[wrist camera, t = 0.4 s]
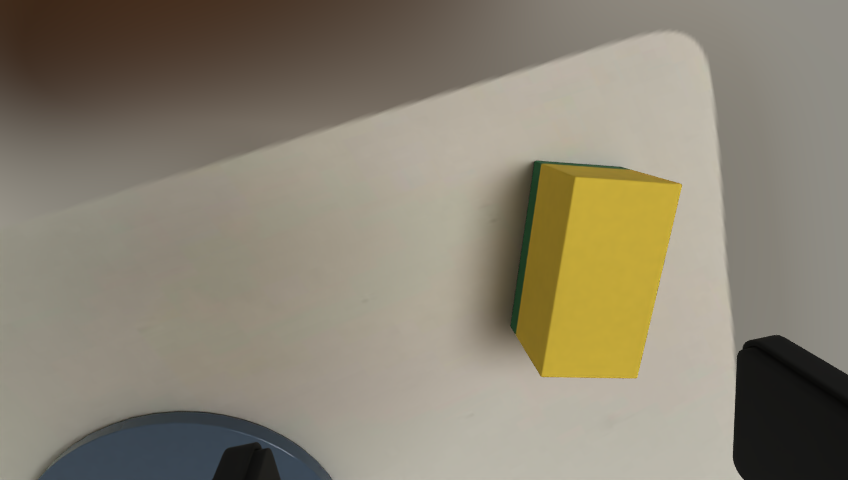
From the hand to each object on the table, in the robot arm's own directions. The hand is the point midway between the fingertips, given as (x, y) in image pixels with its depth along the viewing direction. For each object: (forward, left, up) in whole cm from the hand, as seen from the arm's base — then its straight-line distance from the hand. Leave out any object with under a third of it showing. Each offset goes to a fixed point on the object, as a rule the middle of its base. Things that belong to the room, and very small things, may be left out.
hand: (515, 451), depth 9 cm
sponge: (+4, +6, -16) cm, 17 cm away
